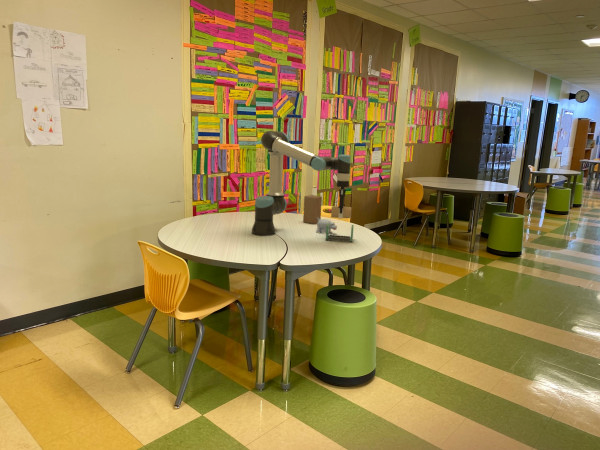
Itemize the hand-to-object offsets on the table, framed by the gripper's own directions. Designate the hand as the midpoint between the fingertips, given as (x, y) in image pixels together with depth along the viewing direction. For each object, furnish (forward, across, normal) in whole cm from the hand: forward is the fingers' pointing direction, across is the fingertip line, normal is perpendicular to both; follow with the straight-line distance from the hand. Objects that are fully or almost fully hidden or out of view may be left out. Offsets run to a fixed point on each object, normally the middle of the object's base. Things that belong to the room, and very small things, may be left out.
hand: (340, 217), depth 265 cm
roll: (0, 0, 0) cm, 0 cm away
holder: (+14, 0, 0) cm, 14 cm away
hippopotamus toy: (+14, +19, +10) cm, 26 cm away
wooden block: (+14, +50, +23) cm, 57 cm away
